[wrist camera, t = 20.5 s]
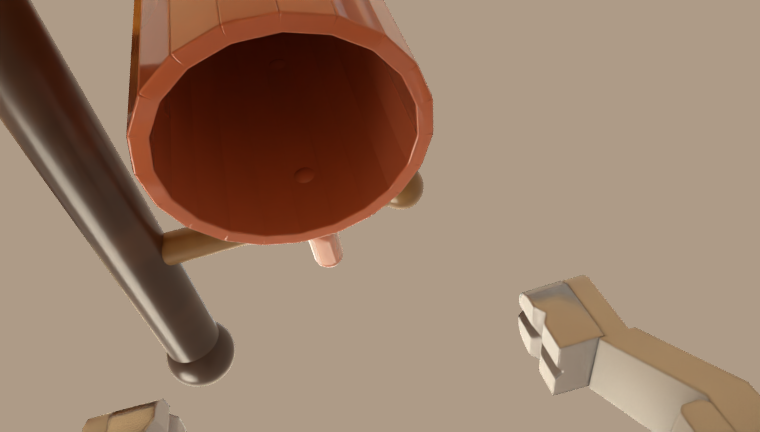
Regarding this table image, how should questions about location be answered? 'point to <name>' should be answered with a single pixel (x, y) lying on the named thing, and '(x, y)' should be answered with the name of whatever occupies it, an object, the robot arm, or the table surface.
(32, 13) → the mug stand
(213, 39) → the mug
